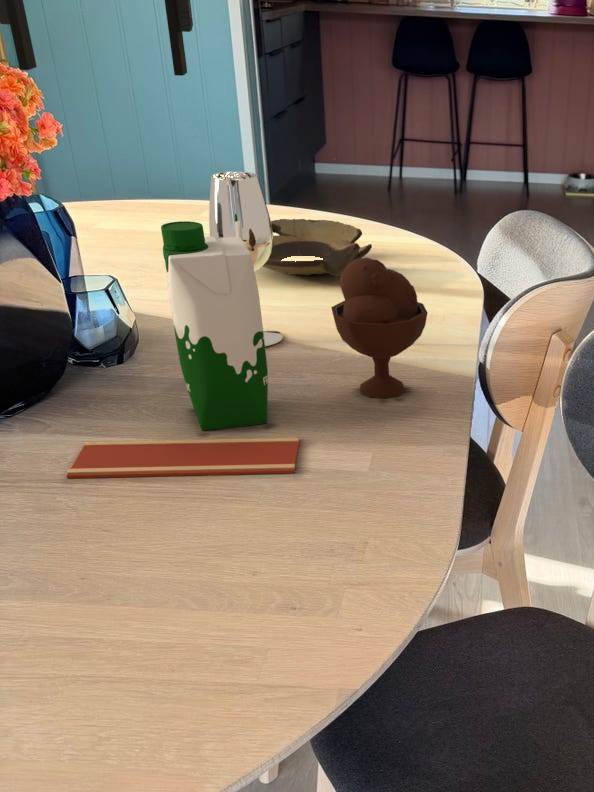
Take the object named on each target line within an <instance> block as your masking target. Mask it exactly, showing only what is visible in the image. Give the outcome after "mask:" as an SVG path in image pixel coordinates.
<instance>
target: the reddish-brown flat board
mask: <svg viewBox="0 0 594 792" xmlns="http://www.w3.org/2000/svg"><path fill="white" fill-rule="evenodd" d="M82 446H83V447H82V448H81V450H80V452H79V454H78V455H77V457H76V459H75V460H74V462H73V464H72V466H71V467H70V468H68V469H67V472H66V479H93V478H94V479H95V478H135V477H137V478H138V477H139V478H140V477H175V476H176V477H177V476H180V477H181V476H183V477H184V476H185V477H186V476H221V475H222V476H223V475H224V476H225V475H268V474H269V475H270V474H273V475H274V474H295V472H296V465H297V458H298V452H299V446H300V437H251V438H249V437H248V438H245V437H244V438H203V439H199V438H195V439H193V438H192V439H149V440H146V439H145V440H98V441H84V442H83V445H82Z"/></svg>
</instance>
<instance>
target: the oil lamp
mask: <svg viewBox="0 0 594 792" xmlns="http://www.w3.org/2000/svg"><path fill="white" fill-rule="evenodd" d="M270 221H271V226H272V231H273V234H276V235H273V249H272V253H271V255H270V257H269V259H268V261H267V262H266V263H265V264H264V265H263V266H262V267H263V268H264V269H265V268H266V269H269V270H271V271H274V272H278V273H282V272H283V273H282V274H288V273H290V274H288V275H294V276H296V274H317V275H324V274H329V275H331V276H333V277H339V276H340V277H341V274H342V272H343V271H344V269H345V268H346V266H347V265H348V264H349V263H350V262H352V261H355V260H357V259H361V258H365V256H366V255H368V253H369V252H371V250H372V248H373V247H372V244H371V243H369V244H367V245H364V246H360V245H359V244H358V242H357V241H358V240H359V239H360V238H361V237H362V235H363V232H362V230H361V229H360V228H358V227H355V226H354V225H351V224H347V223H343V222H340V221H334V220H328V219H305V218H297V219H296V218H292V219H287V218H280V219H275V220H270ZM291 256H315V257H320V258H323V260H314V261H296V262H295V261H281V260H282V259H284V258H287V257H291Z"/></svg>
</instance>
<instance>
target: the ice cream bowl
mask: <svg viewBox="0 0 594 792" xmlns="http://www.w3.org/2000/svg"><path fill="white" fill-rule="evenodd" d="M339 284H340V290H341V293H342V295H343V298H344V300H343V301H341V302H339V303H337V304H335V305H333V306H331V307H330V308H331V312H332V316H333V320H334V324H335V328H336V330H337V332H338V334H339V336H340V339H341V340H342V341H343V342H344V343H345V344H346V345H347V346H348V347H349V348H351V349H352V350H354V351H356V352H357V353H359V354H361V355H364V356H366V357H369V358H371V359H372V361H373V366H374V375H373V376H371V377H370V378H368V379H366V380H365V381H363V382H362V383H360V386H359V392H360V394H361V395H363V396H366V397H368V398H370V399H392V398H395V397H400V396H401V395H403V394H404V393H405V392H406V389H405V385H404V383H403V381H401V380H400V379H397V378H396V377H394V376H392V375H390V367H389V363H390V360H391V358H394V357H396V356H398V355H400V354H401V353H403V352H405V350H407V349H408V348H410V347H411V346H412V345H414V343H416V341H417V340H418V339H420V337H421V336H422V334H423V332H424V330H425V327H426V325H427V324H426V323H427V319H428V311H427V309H426V306H425V305H424V303H423V302H419V300H418V295H417V292H416V289H415V287H414V285H412V283H411V282H410V281H409V279H407V278H406V276H405V275H404V274H403V273H400V272H398V271H396V270H393V269H390V268H387V267H386V266H385V264H384V263H383V262H381V261H380V260H378V259H374V258H370V257H362V258H361V259H357V260H355V261H352V262H350V263H349V264H348V265H347V266H346V268H345V269H344V271H343V272H342V274H341V275H340V279H339Z"/></svg>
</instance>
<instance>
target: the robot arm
mask: <svg viewBox="0 0 594 792" xmlns="http://www.w3.org/2000/svg"><path fill="white" fill-rule="evenodd" d="M164 6H165V14H166V22H167V30H168V36H169V44H170V52H171V58H172V67H173V74H174V76H178V77H179V76H185V75H186V74H188V67H187V66H188V65H187V59H186V51H185V43H184V34H183V33H184V32H185V33H190V32H192V31H193V26H194V19H193V13H192V12H193V11H192V4H191V0H164ZM0 25H9V27H10V31H11V36H12V39H13V40H12V41H13V46H14V50H15V55H16V59H17V63H18V69H19V71H30V70H33V69H35V68H37V62H36V56H35V52H34V46H33V42H32V38H31V33H30V28H29V23H28V19H27V13H26V9H25V3H24V0H0Z"/></svg>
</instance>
